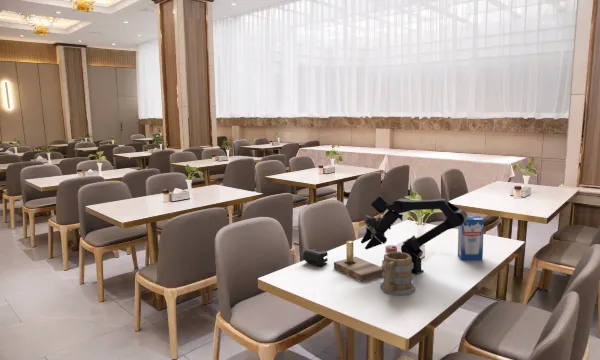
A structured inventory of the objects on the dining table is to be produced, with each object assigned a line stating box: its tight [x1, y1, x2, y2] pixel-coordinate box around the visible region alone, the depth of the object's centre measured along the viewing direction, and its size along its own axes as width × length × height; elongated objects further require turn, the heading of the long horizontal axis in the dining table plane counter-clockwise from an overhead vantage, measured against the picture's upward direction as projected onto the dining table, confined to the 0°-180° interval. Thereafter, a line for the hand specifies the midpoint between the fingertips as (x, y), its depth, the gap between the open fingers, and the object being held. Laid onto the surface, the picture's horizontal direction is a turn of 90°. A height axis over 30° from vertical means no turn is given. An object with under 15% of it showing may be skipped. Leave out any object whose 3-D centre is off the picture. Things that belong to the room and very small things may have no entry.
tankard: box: [380, 251, 416, 296], centre depth 170 cm, size 20×13×15 cm, turn 141°
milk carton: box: [457, 215, 485, 262], centre depth 205 cm, size 10×6×20 cm, turn 84°
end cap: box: [302, 248, 329, 267], centre depth 205 cm, size 10×7×7 cm
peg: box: [345, 240, 355, 265], centre depth 196 cm, size 3×3×13 cm
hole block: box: [333, 256, 384, 283], centre depth 193 cm, size 20×13×3 cm, turn 32°
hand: (363, 245), depth 196 cm, fingers open, 9 cm apart
